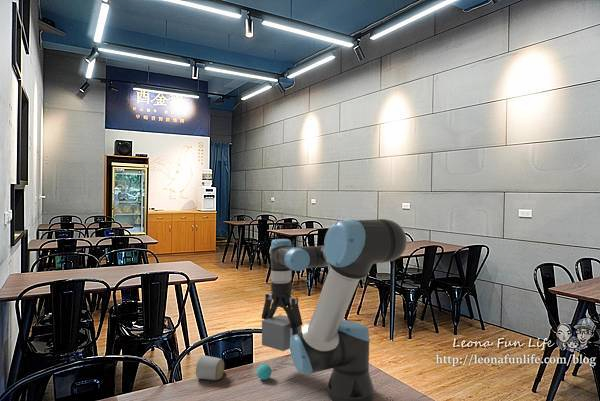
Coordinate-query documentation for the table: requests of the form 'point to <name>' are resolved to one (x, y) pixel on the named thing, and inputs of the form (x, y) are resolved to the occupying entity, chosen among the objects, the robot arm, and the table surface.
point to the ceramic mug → (209, 368)
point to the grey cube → (277, 332)
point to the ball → (264, 372)
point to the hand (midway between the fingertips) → (281, 341)
